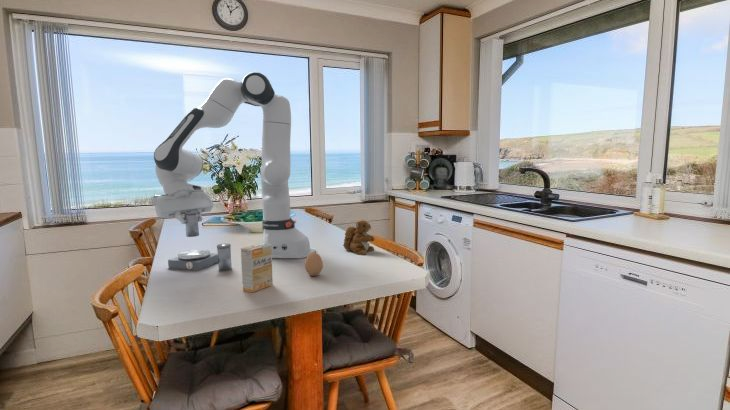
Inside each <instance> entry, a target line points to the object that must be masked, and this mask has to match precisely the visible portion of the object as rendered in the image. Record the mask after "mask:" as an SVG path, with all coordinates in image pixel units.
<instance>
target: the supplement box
mask: <svg viewBox="0 0 730 410" xmlns="http://www.w3.org/2000/svg"><path fill="white" fill-rule="evenodd" d="M240 257H241V259H240V260H241V277H242V278H241V280H242V281H241V282H242V290H243V291H246V292H249V293H256V292H258V291H260V290H262V289H265V288H268V287H270V286H273V281H274V280H273V279H274V278H273V258H272V250H271V245H270V244H264V243H263V242H260V243H258V244H254V245H253V244H252V245H249V246H246V247H241V248H240Z"/></svg>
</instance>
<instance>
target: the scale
mask: <svg viewBox="0 0 730 410" xmlns="http://www.w3.org/2000/svg"><path fill="white" fill-rule="evenodd" d="M167 264H168V266H167V267H168V269H175V270H176V269H177V270H188V271H190V270H191V271H201V270H203V269H206V268H208V267H210V266H212V265H216V264H218V253H213V252H210V255H209V256H207V257H204V258H200V259H193V260H182V259H179V258H178V256H175V257H172V258H169V259H168V260H167Z"/></svg>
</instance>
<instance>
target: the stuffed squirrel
mask: <svg viewBox="0 0 730 410" xmlns="http://www.w3.org/2000/svg"><path fill="white" fill-rule="evenodd" d="M371 230H372V226H371V224H370V223H369V222H368V221H366V220H364V219H362V220H359V221H355V227H354V226H349V227H347V229H346V230H345V233H344V239H343V244H342V246H343V248H344V249H345V251H348V252H353V253H354V254H356V255H362V256H365V255H366V254H367V252H368V251H369V252H370V251H373V250H375V248H374V246H372V245H370V243H369V242H374V241H375V237H374V235H371V234H368V233H369V231H371Z"/></svg>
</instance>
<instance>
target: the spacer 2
mask: <svg viewBox="0 0 730 410" xmlns="http://www.w3.org/2000/svg"><path fill="white" fill-rule="evenodd" d="M216 250H217V252H216V253H217V254H218V262H217V265H218V267H217V268H218V271H219V272H227V271H231V270H232V269H233V268H232V266H233V265H232V253H231V251H232V250H231V243H226V242H225V243H219V244H217V245H216Z"/></svg>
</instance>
